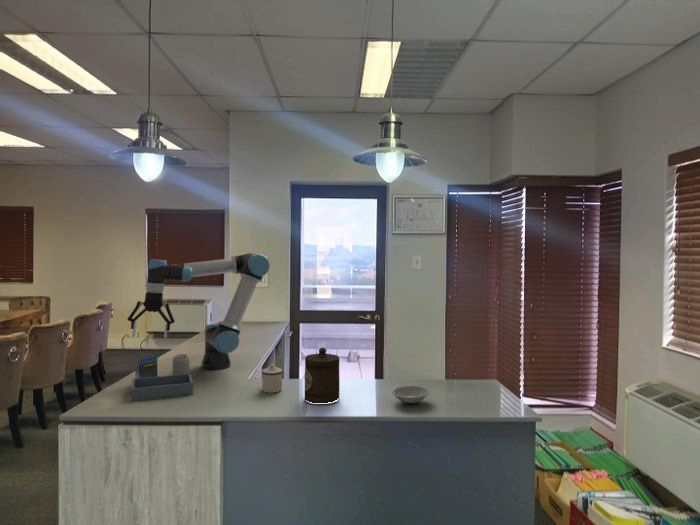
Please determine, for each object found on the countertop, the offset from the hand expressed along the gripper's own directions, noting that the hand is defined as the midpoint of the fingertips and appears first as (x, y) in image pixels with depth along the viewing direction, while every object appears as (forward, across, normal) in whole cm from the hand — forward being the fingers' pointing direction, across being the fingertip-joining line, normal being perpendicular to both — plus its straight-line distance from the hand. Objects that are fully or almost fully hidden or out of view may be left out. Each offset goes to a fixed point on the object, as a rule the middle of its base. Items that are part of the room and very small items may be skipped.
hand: (149, 337), depth 204 cm
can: (+20, +16, +2) cm, 26 cm away
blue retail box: (+22, +1, -1) cm, 22 cm away
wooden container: (+16, +76, -40) cm, 88 cm away
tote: (+21, +10, -16) cm, 28 cm away
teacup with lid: (+17, +56, -22) cm, 63 cm away
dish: (+13, +112, -52) cm, 124 cm away
